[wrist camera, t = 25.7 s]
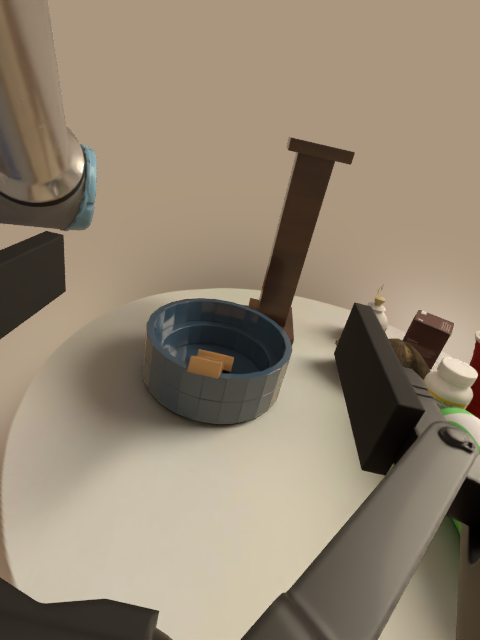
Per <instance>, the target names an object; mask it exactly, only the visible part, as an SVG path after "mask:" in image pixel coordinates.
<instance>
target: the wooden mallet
mask: <svg viewBox="0 0 480 640" xmlns="http://www.w3.org/2000/svg"><path fill="white" fill-rule="evenodd" d="M233 361H234V357H231V356H227V355H222V354H218V353H214V352H209V351H205V350H200V349H199V350H198V354H197V356H191V358H190V362H189V366H188V370H187V371H188V372H192V373H196V374H200V375H205V376H209V377H213V378H219V376H220V374H221V372H222V370H224V371H229V372H231V369H232V365H233Z"/></svg>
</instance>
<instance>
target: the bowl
mask: <svg viewBox="0 0 480 640" xmlns="http://www.w3.org/2000/svg"><path fill="white" fill-rule="evenodd" d="M199 349H200V350H205V351H209V352H214V353H218V354H222V355H227V356H231V357H234V361H233V365H232V369H231V372H229V371H224V370H222V372H221V374H220V376H219V378H213V377H209V376H205V375H200V374H196V373H192V372H188V371H187V370H188V366H189V362H190V358H191V356H197V354H198V350H199ZM291 353H292V347H291V342H290V339H289V337H288V336H287V334H286V333H285V331H284V330H283V329H282V328H281V327H280V326H279V325H278V324H277V323H276V322H275V321H273V320H272V319H270V318H268V317H267V316H265V315H264V314H262V313H260V312H258V311H256V310H253V309H251V308H249V307H246V306H243V305H240V304H236V303H233V302H228V301H223V300H217V299H204V298H202V299H201V298H198V299H184V300H180V301H175V302H171V303H169V304H166V305H164V306H162V307H160V308H159V309H157V310H156V311H155V312H154V313H153V314H152V315H151V316H150V318H149V320H148V322H147V325H146V337H145V348H144V360H143V379H144V381H145V384H146V386H147V388H148V390H149V392H150V393H151V394H152V395H153V396H154V397H155V398H156V400H157V401H158V402H159V403H160V404H162V405H163V406H165V407H166V408H168V409H170V410H171V411H173V412H174V413H176V414H178V415H181V416H184V417H186V418H189V419H192V420H194V421H195V420H196V421H199V422H206V423H212V424H235V423H240V422H244V421H247V420H251V419H255V418H256V417H258V416H260V415H261V414H263V413H265V412H267V411H268V410H269V409H270V407H271V406H272V405H273V404H274V403H275V401H276V399H277V396H278V393H279V390H280V387H281V384H282V381H283V378H284V375H285V372H286V369H287V366H288V363H289V360H290V356H291Z"/></svg>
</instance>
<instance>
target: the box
mask: <svg viewBox="0 0 480 640" xmlns="http://www.w3.org/2000/svg"><path fill="white" fill-rule="evenodd" d="M453 326H454V323H452V322H450V321H447V320H444V319H442V318H440V317H437V316H434V315H432V314H429V313H426V312H424V311H421V310H419V311H418V312H417V314H416V316H415V317H414V319H413V321H412V323H411V325H410V327H409V329H408V331H407V333H406V335H405V337H404V339H403V341H405V342H407V343H409V344H410V345H412V346H413V347H414V348H415V349H416V350H417V351H418V352H419V353H420V355H421V356H422V358H423V359H424V361H425V362H426V364H427V366H428V368H429V369H430V370H431V369H432V367H433V365H434V363H435V362H436V360H437V358H438V356H439V354H440V353H441V351H442V349H443V347H444V345H445V344H446V342H447V340H448V338H449V337H450V335H451V333H452V330H453Z"/></svg>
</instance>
